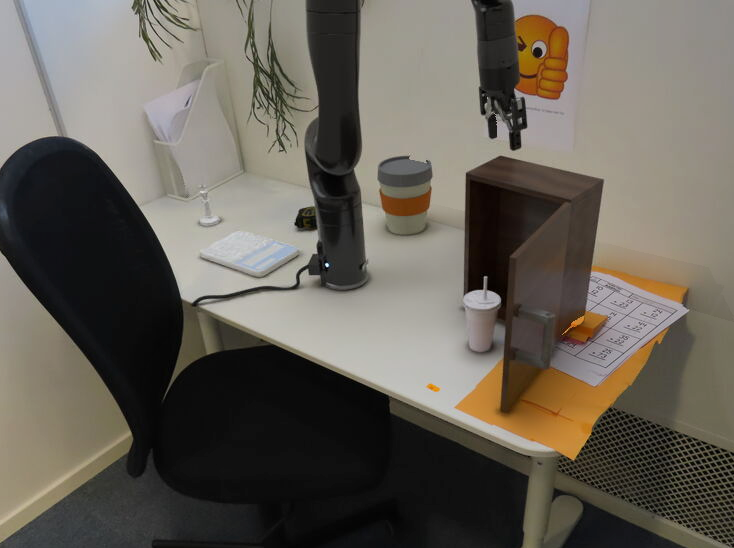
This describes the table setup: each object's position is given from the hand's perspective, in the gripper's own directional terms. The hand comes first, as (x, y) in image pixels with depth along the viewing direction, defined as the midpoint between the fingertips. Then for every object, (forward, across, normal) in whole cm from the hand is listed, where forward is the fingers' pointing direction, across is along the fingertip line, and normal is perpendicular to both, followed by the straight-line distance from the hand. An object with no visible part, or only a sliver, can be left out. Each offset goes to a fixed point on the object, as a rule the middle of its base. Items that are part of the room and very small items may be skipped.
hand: (505, 143), depth 138 cm
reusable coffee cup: (+21, -19, -17) cm, 33 cm away
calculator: (+15, -22, -54) cm, 61 cm away
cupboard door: (+21, +46, -21) cm, 54 cm away
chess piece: (+14, -46, -59) cm, 76 cm away
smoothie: (+20, +32, -25) cm, 45 cm away
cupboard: (+22, +26, -13) cm, 37 cm away
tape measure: (+18, -31, -38) cm, 52 cm away
